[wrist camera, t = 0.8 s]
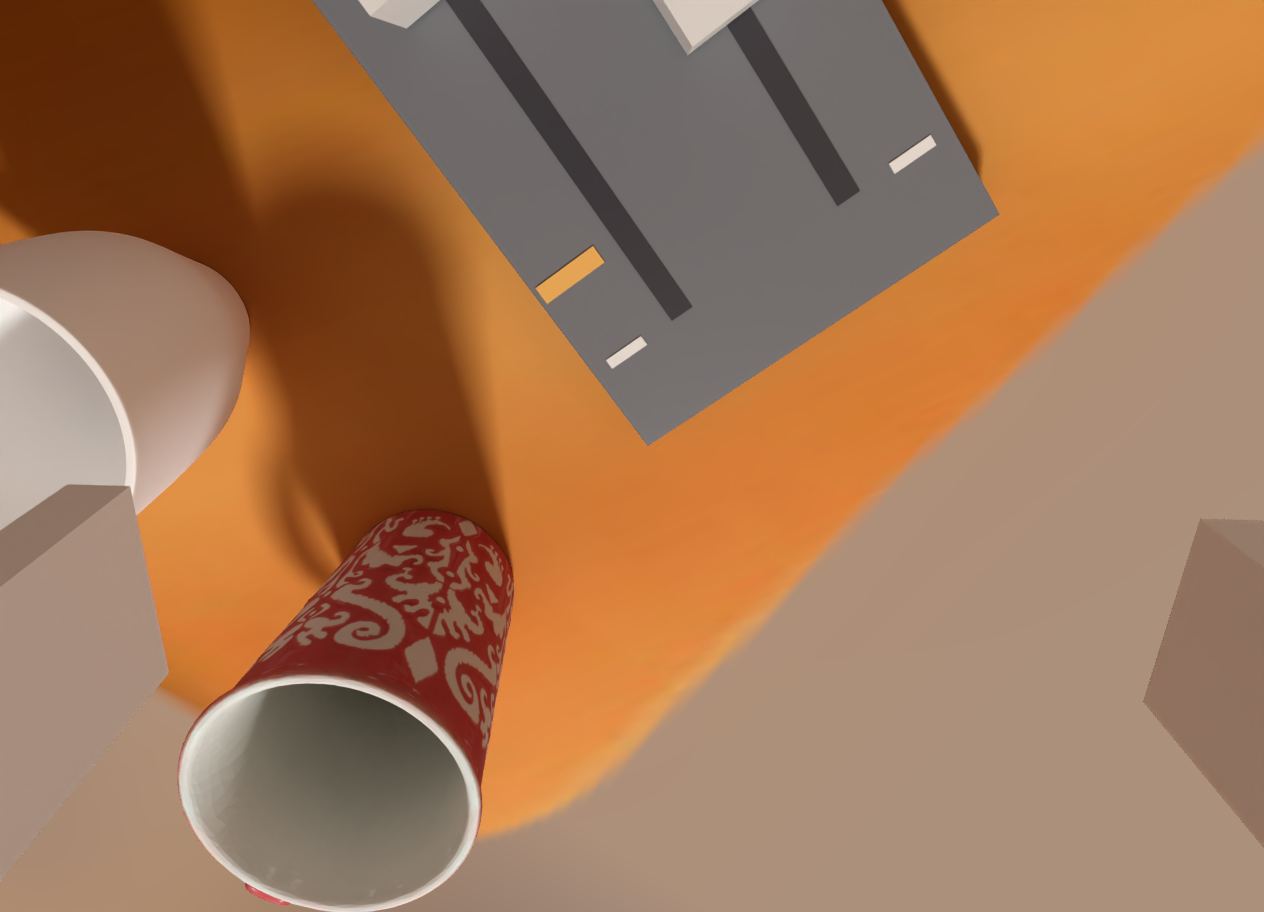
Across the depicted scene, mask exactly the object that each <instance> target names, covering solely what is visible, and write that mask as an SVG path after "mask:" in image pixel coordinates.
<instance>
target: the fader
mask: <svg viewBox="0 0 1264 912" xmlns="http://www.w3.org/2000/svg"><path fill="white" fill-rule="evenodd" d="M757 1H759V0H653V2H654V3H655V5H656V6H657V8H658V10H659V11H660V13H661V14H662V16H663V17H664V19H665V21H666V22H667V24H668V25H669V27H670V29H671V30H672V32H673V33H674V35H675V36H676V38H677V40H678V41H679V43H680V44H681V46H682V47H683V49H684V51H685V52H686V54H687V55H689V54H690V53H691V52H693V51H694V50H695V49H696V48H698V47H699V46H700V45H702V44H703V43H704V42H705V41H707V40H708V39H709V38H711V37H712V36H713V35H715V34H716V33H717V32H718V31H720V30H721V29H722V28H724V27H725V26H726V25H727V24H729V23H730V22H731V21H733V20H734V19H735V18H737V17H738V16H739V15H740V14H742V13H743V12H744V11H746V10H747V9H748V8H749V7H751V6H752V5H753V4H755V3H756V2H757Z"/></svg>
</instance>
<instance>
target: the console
mask: <svg viewBox="0 0 1264 912" xmlns="http://www.w3.org/2000/svg"><path fill="white" fill-rule="evenodd" d="M312 1H313V2H314V3H315V5H316V6H317V7H318V9H319V10H320V11H321V12H322V14H323V15H324V16H325V18H326V19H327V20H328V22H329V23H330V24H331V26H332V27H333V28H334V30H335V31H336V32H337V34H338V35H339V36H340V38H341V39H342V40H343V42H344V43H345V44H346V46H347V47H348V48H349V50H350V51H351V52H352V54H353V55H354V56H355V58H356V59H357V60H358V62H359V63H360V64H361V66H362V67H363V68H364V70H365V71H366V72H367V74H368V75H369V76H370V78H371V79H372V80H373V82H374V83H375V84H376V86H377V87H378V88H379V90H380V91H381V92H382V94H383V95H384V96H385V98H386V99H387V100H388V102H389V103H390V104H391V105H392V107H393V108H394V109H395V111H396V112H397V113H398V115H399V116H400V117H401V119H402V120H403V121H404V123H405V124H406V125H407V127H408V128H409V129H410V131H411V132H412V133H413V135H414V136H415V137H416V139H417V140H418V141H419V143H420V144H421V145H422V147H423V148H424V149H425V151H426V152H427V153H428V155H429V156H430V157H431V159H432V160H433V161H434V163H435V164H436V165H437V167H438V168H439V169H440V171H441V172H442V173H443V175H444V176H445V177H446V179H447V180H448V181H449V183H450V184H451V185H452V187H453V188H454V189H455V191H456V192H457V193H458V194H459V196H460V197H461V198H462V200H463V201H464V202H465V204H466V205H467V206H468V208H469V209H470V210H471V212H472V213H473V214H474V216H475V217H476V218H477V220H478V221H479V222H480V224H481V225H482V226H483V228H484V229H485V230H486V232H487V233H488V234H489V236H490V237H491V238H492V240H493V241H494V242H495V244H496V245H497V246H498V248H499V249H500V250H501V252H502V253H503V254H504V256H505V257H506V258H507V260H508V261H509V262H510V264H511V265H512V266H513V268H514V269H515V270H516V272H517V273H518V274H519V276H520V277H521V278H522V280H523V281H524V282H525V284H526V285H527V286H528V287H529V289H530V290H531V291H532V293H533V294H534V295H535V297H536V298H537V299H538V301H539V302H540V303H541V305H542V306H543V307H544V309H545V310H546V311H547V313H548V314H549V315H550V317H551V318H552V319H553V321H554V322H555V323H556V325H557V326H558V327H559V329H560V330H561V331H562V333H563V334H564V335H565V337H566V338H567V339H568V341H569V342H570V343H571V345H572V346H573V347H574V349H575V350H576V351H577V353H578V354H579V355H580V357H581V358H582V359H583V361H584V362H585V363H586V365H587V366H588V367H589V369H590V370H591V371H592V373H593V374H594V375H595V377H596V378H597V379H598V380H599V382H600V383H601V384H602V386H603V387H604V388H605V390H606V391H607V392H608V394H609V395H610V396H611V398H612V399H613V400H614V402H615V403H616V404H617V406H618V407H619V408H620V410H621V411H622V412H623V414H624V415H625V416H626V418H627V419H628V420H629V422H630V423H631V424H632V426H633V427H634V428H635V430H636V431H637V432H638V434H639V435H640V436H641V438H642V439H643V440H644V442H645V443H646V444H647V446H648V445H650V444H651V443H653V442H655V441H656V440H658V439H659V438H661V437H662V436H664V435H665V434H667V433H668V432H670V431H671V430H673V429H674V428H676V427H677V426H679V425H680V424H682V423H683V422H685V421H686V420H688V419H689V418H691V417H693V416H694V415H696V414H697V413H699V412H700V411H702V410H703V409H705V408H706V407H708V406H709V405H711V404H712V403H714V402H715V401H717V400H718V399H720V398H721V397H723V396H724V395H726V394H728V393H729V392H731V391H732V390H734V389H735V388H737V387H738V386H740V385H741V384H743V383H744V382H746V381H747V380H749V379H750V378H752V377H753V376H755V375H756V374H758V373H759V372H761V371H762V370H764V369H766V368H767V367H769V366H770V365H772V364H773V363H775V362H776V361H778V360H779V359H781V358H782V357H784V356H785V355H787V354H788V353H790V352H791V351H793V350H794V349H796V348H797V347H799V346H800V345H802V344H804V343H805V342H807V341H808V340H810V339H811V338H813V337H814V336H816V335H817V334H819V333H820V332H822V331H823V330H825V329H826V328H828V327H829V326H831V325H832V324H834V323H835V322H837V321H838V320H840V319H842V318H843V317H845V316H846V315H848V314H849V313H851V312H852V311H854V310H855V309H857V308H858V307H860V306H861V305H863V304H864V303H866V302H867V301H869V300H870V299H872V298H873V297H875V296H876V295H878V294H880V293H881V292H883V291H884V290H886V289H887V288H889V287H890V286H892V285H893V284H895V283H896V282H898V281H899V280H901V279H902V278H904V277H905V276H907V275H908V274H910V273H911V272H913V271H914V270H916V269H918V268H919V267H921V266H922V265H924V264H925V263H927V262H928V261H930V260H931V259H933V258H934V257H936V256H937V255H939V254H940V253H942V252H943V251H945V250H946V249H948V248H949V247H951V246H952V245H954V244H956V243H957V242H959V241H960V240H962V239H963V238H965V237H966V236H968V235H969V234H971V233H972V232H974V231H975V230H977V229H978V228H980V227H981V226H983V225H984V224H986V223H987V222H989V221H990V220H992V219H994V218H995V217H997V216H998V215H1000V214H999V212H998V210H997V209H996V207H995V205H994V203H993V201H992V200H991V198H990V196H989V194H988V192H987V190H986V189H985V187H984V185H983V183H982V181H981V180H980V178H979V176H978V174H977V172H976V171H975V169H974V167H973V165H972V163H971V161H970V160H969V158H968V156H967V154H966V152H965V151H964V149H963V147H962V145H961V143H960V141H959V140H958V138H957V136H956V134H955V132H954V131H953V129H952V127H951V125H950V123H949V121H948V120H947V118H946V116H945V114H944V112H943V111H942V109H941V107H940V105H939V103H938V101H937V100H936V98H935V96H934V94H933V92H932V91H931V89H930V87H929V85H928V83H927V81H926V80H925V78H924V76H923V74H922V72H921V71H920V69H919V67H918V65H917V63H916V61H915V60H914V58H913V56H912V54H911V52H910V51H909V49H908V47H907V45H906V43H905V42H904V40H903V38H902V36H901V34H900V32H899V31H898V29H897V27H896V25H895V23H894V22H893V20H892V18H891V16H890V14H889V12H888V11H887V9H886V7H885V5H884V3H883V2H882V0H759V1H757V2H756V3H755V4H753V5H752V6H751V7H749V8H748V9H747V10H746V11H744V12H743V13H742V14H740V15H739V16H738V17H737V18H735V19H734V20H733V21H731V22H730V23H729V24H727V25H726V26H725V27H724V28H722V29H721V30H720V31H718V32H717V33H716V34H715V35H713V36H712V37H711V38H709V39H708V40H707V41H705V42H704V43H703V44H702V45H700V46H699V47H698V48H696V49H695V50H694V51H693V52H691V53H690V54H689V55H687V54H686V52H685V51H684V49H683V47H682V46H681V44H680V43H679V41H678V40H677V38H676V36H675V35H674V33H673V32H672V30H671V29H670V27H669V25H668V24H667V22H666V21H665V19H664V17H663V16H662V14H661V13H660V11H659V10H658V8H657V6H656V5H655V3H654V2H653V0H440V1H438V2H437V3H436V4H435V5H434V6H433V7H431V8H430V9H429V10H428V11H427V12H426V13H424V14H423V15H422V16H421V17H420V18H419V19H417V20H416V21H415V22H414V23H413V24H412V25H410V26H409V27H408V28H407V29H406V28H403V27H401V26H398V25H395V24H392V23H389V22H386V21H383V20H380V19H377V18H374V17H371V16H370V15H369V14H368V13H367V11H366V10H365V9H364V7H363V6H362V5H361V3H360V2H359V0H312Z"/></svg>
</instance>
